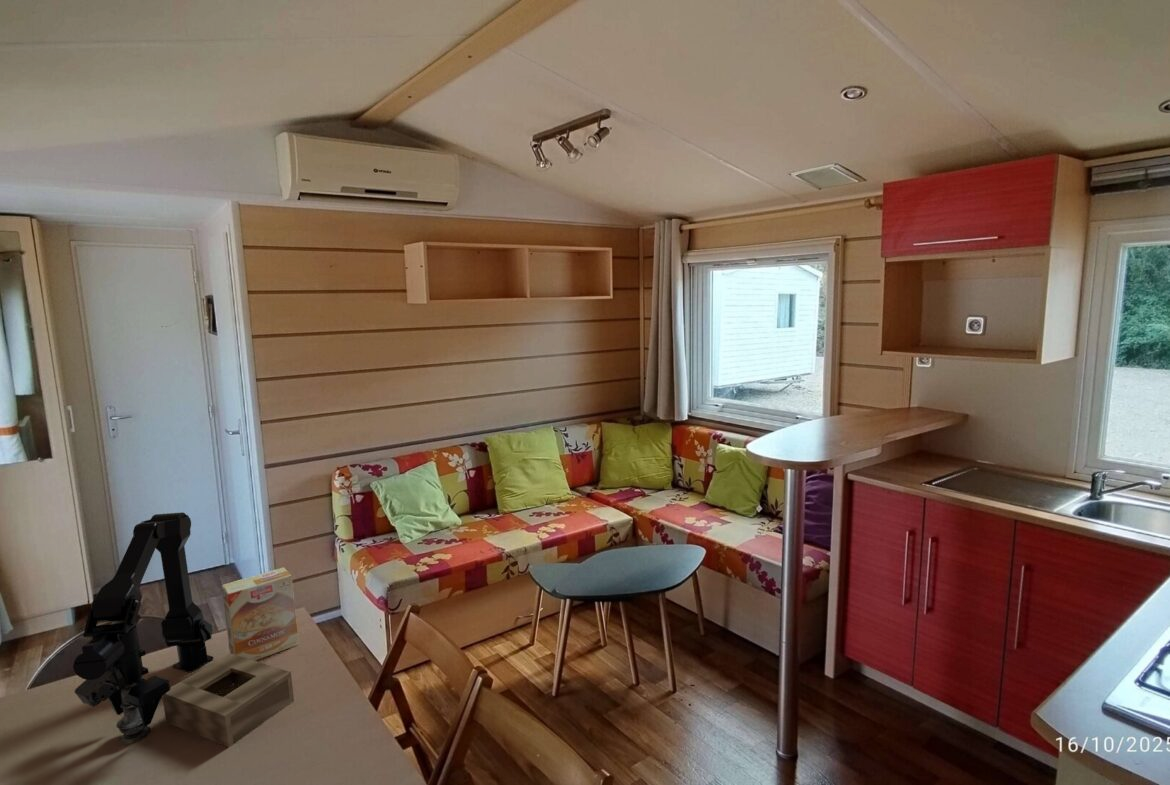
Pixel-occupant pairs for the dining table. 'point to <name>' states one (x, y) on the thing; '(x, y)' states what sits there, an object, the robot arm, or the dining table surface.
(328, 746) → the dining table surface
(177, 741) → the dining table surface
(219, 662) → the beige rectangular hollow block
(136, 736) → the grey chess piece
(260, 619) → the coffeecake box
